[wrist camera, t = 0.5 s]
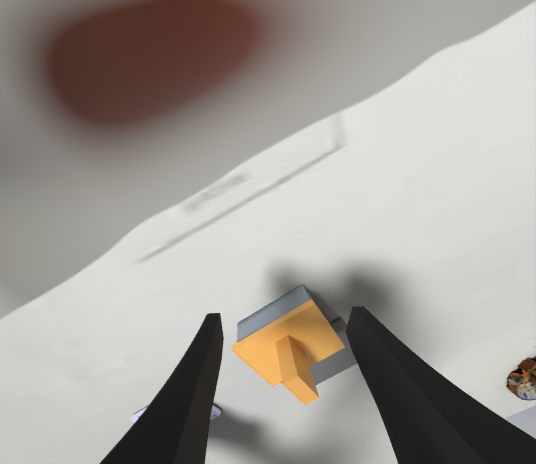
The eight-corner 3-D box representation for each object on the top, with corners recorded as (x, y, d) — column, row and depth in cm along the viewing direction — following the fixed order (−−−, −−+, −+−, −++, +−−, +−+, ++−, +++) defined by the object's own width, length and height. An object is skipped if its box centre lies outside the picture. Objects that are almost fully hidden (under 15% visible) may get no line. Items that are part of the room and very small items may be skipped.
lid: (270, 373, 24) (277, 431, 19) (233, 338, 22) (230, 395, 16) (339, 335, 23) (366, 386, 18) (309, 293, 20) (330, 339, 15)
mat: (294, 392, 30) (295, 395, 29) (262, 361, 26) (262, 364, 26) (365, 355, 28) (367, 357, 28) (340, 317, 25) (341, 319, 25)
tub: (269, 354, 26) (272, 378, 23) (237, 323, 24) (237, 345, 21) (328, 320, 25) (338, 341, 22) (302, 284, 23) (310, 302, 20)
